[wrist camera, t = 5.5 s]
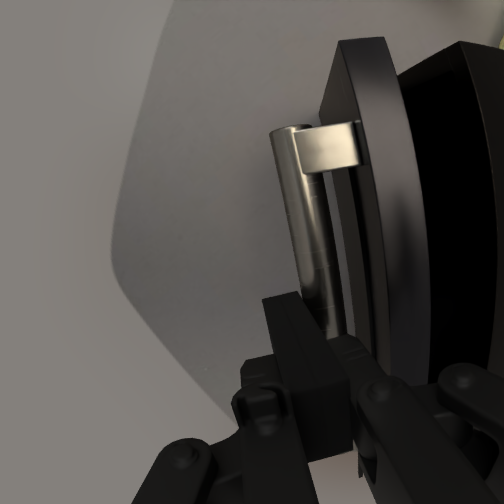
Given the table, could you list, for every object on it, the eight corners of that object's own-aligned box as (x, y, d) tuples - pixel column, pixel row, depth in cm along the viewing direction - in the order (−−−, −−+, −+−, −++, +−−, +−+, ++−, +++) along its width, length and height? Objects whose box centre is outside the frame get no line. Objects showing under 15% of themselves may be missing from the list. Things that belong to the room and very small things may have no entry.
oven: (377, 353, 26) (462, 460, 12) (341, 109, 21) (458, 40, 8) (503, 301, 26) (597, 353, 12) (487, 104, 22) (600, 83, 8)
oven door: (323, 364, 26) (328, 497, 13) (277, 120, 22) (245, 56, 9) (375, 355, 25) (412, 481, 12) (339, 109, 21) (384, 36, 8)
